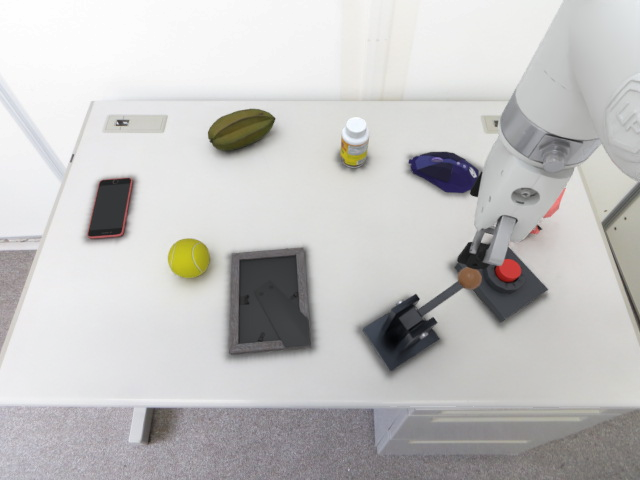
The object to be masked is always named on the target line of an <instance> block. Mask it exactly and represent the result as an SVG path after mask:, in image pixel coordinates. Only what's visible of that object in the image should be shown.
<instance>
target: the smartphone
mask: <svg viewBox="0 0 640 480" xmlns="http://www.w3.org/2000/svg"><path fill="white" fill-rule="evenodd" d="M132 186H133V179H132V178H131V177H119V178H117V177H116V178H107V179H105V178H104V179H101V180H100V181H99V182H98V185H97V190H96V193H95V198H94V203H93V207H92V211H91V214H90V215H91V216H90V220H89V225H88V229H87V234H86V237H87V238H88V239H103V238H118V237H121V236H123V235H124V232H125V228H126V222H127V216H128V210H129V203H130V198H131V192H132Z"/></svg>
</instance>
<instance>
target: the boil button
mask: <svg viewBox="0 0 640 480" xmlns="http://www.w3.org/2000/svg"><path fill="white" fill-rule="evenodd" d="M495 273H496V275H497V277H498V278H499V279H500V280H502V281H504V282H512V281H514V280H515V279H516V278H518V277H519V276H520V274H521V268H520V266H519V264H518V263H517V262H515V261H514V260H511V259H505V260H504V262H503V264H502V265H501V266H496V269H495Z"/></svg>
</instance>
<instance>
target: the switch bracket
mask: <svg viewBox="0 0 640 480" xmlns="http://www.w3.org/2000/svg"><path fill="white" fill-rule="evenodd" d="M420 300H421V298H420V297H419V295H418V294H417V293H415V294H413V295H410V296H409V297H408V298H406V299H401V300H399V301H397V303H395V306H394V307H392V308H391V309H390V311H388V312H387V313H386V314H384V315H383V316H381V317H379V318H378V319H376V320H374V321H373V322H371V323H369V324H368V325H366V326H364V327H363V328H362V332H363V334H364V335H365V337H366V339H367V340H368V342H369V343H370V345H371V346H372V348H373V349H374V351H375V352H376V354H377V355H378V357H379V359H380V360H381V361H382V363H383V365H384V366H385V368H386V369H387V371H388V372H389V373H391V372H393V371H395V370H396V369H398V368H399V367H400V366H402V365H403V364H405V363H406V362H409V361H410V360H411V359H412V358H414V357H416V356H417V355H419V354H420V353H422V352H424V351H425V350H426V349H428V348H429V347H431V346H432V345H434V344H436V342H439V340H441V339H440V337H439V336H438V334H437V333H436V332H435V330H434V327H435V326H436V325H437V324H439V322H438V321H437V320H436V318H435V317H434V316H432V317H431V318H429V319H427V320H426V318H425V316H423V318H424V319H425V321H424V322H422V323H421V324H419V325H418V326H416V327H415V328H414V329H412V330H411V331H407V330H406V328H405V327H404V325H403V324H402V323H401V321H400V320H399V317H400V316H402V315H403V314H404V313H406V312H407V311H409V310H410V309H411V308H413V307H415V308H417V309H418V307H417V305H418V303H419V302H420Z"/></svg>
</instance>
